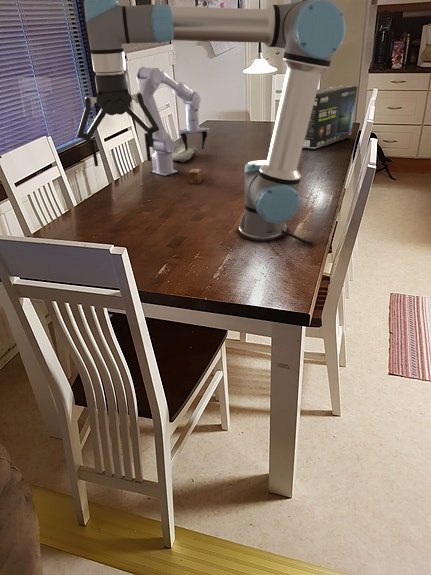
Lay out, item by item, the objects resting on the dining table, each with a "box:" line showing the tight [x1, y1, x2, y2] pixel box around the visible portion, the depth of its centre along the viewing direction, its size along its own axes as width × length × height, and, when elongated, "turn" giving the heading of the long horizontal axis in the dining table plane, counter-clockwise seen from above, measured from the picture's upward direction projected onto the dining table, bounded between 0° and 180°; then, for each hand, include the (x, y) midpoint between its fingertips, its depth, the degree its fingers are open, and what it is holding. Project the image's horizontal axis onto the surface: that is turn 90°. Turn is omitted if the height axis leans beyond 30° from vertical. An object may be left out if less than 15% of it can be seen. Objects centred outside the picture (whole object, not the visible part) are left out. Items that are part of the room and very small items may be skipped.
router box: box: [303, 84, 358, 151], centre depth 238 cm, size 36×11×27 cm, turn 134°
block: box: [187, 168, 203, 185], centre depth 196 cm, size 4×5×5 cm
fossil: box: [172, 142, 199, 163], centre depth 229 cm, size 18×11×15 cm
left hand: (194, 149), depth 218 cm, fingers open, 7 cm apart
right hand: (123, 162), depth 120 cm, fingers open, 13 cm apart
